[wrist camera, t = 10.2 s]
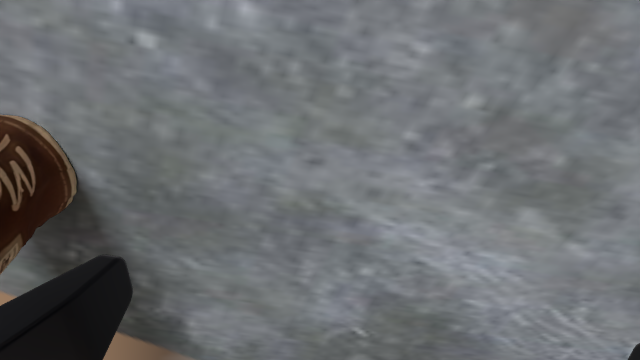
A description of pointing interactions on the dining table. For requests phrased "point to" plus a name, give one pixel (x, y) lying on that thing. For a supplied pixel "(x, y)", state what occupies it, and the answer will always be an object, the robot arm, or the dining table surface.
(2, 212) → the coffee cup
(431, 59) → the dining table surface
